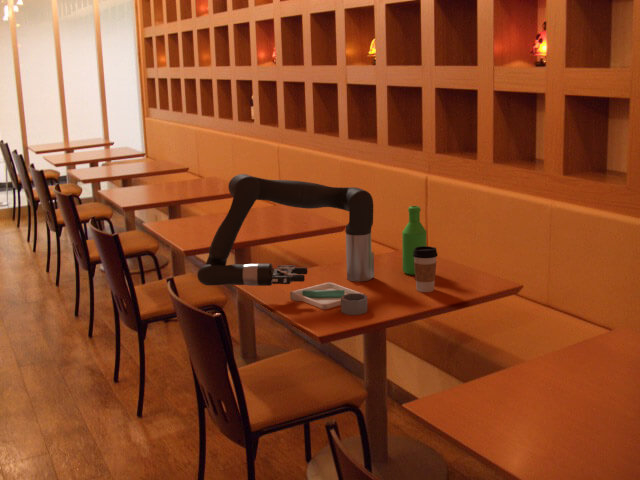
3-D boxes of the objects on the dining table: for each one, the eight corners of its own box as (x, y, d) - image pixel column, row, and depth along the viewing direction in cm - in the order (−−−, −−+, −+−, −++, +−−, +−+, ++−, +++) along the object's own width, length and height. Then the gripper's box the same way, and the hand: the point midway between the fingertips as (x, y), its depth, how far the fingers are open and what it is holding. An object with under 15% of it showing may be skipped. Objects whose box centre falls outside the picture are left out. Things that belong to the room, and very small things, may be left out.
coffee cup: (422, 294, 266) (422, 252, 263) (408, 288, 274) (407, 246, 270) (442, 290, 270) (442, 248, 267) (428, 284, 277) (428, 243, 274)
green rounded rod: (344, 292, 265) (303, 292, 266) (344, 288, 263) (302, 289, 264) (344, 298, 264) (303, 298, 265) (344, 295, 262) (302, 295, 263)
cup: (356, 307, 256) (355, 291, 254) (372, 314, 249) (372, 297, 248) (336, 313, 251) (336, 297, 250) (352, 319, 245) (352, 303, 243)
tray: (330, 288, 277) (329, 281, 276) (364, 301, 262) (364, 294, 261) (290, 298, 267) (290, 291, 266) (324, 312, 252) (323, 305, 252)
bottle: (426, 269, 297) (426, 204, 291) (426, 275, 288) (426, 208, 282) (402, 269, 298) (402, 204, 292) (402, 275, 289) (402, 209, 283)
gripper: (253, 269, 257) (303, 269, 255) (260, 258, 270) (307, 258, 269) (254, 291, 258) (303, 291, 257) (261, 279, 272) (308, 279, 271)
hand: (305, 274), depth 263 cm, fingers open, 8 cm apart
